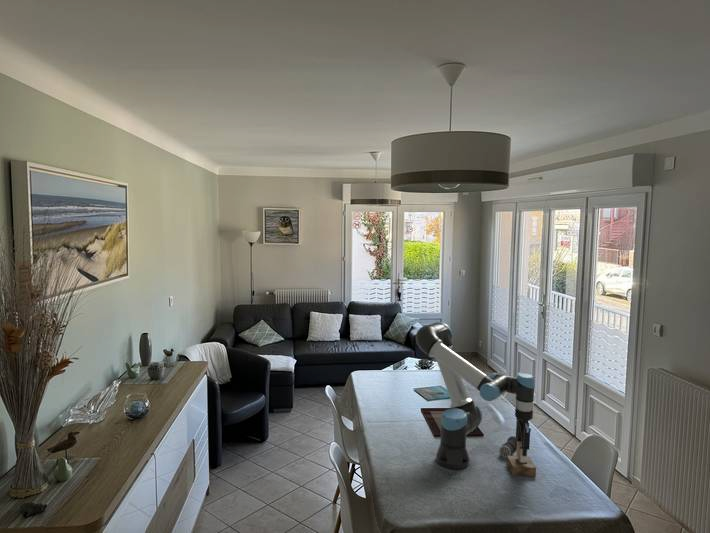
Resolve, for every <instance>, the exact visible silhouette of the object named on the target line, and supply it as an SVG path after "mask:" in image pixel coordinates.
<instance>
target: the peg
mask: <svg viewBox="0 0 710 533" xmlns="http://www.w3.org/2000/svg"><path fill="white" fill-rule="evenodd" d="M520 447H522V442H519V443H518V464H524V462H520V453H521V449H520Z"/></svg>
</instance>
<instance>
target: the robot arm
mask: <svg viewBox="0 0 710 533" xmlns="http://www.w3.org/2000/svg"><path fill="white" fill-rule="evenodd" d="M452 339H453V330H452V329H451V327H450V326H449V325H448V324H447V323H444V322H442V321H439V322H436V321H435V322H432V323H430V324H427V325H423V326H421V327H420V328H418V329H417V332H416V334H415V342H416V344H417V346H418V348H419V349H420V351H422V352H423V353H424V354H425V355H427V356H428V357H430V358H435V360H436V363H437V366H438V368H439V370H440V374H441V376H442V379H443V382H444V385H445V388H446V391H447V393H448V395H449V399H450V401H451V403H450V405H449V407H450V408H448V409H446V410H444V411H443V412H442V413H441V418H440V440H439V441H440V444H439V447H438V449H437V451H436V454H435V461H436V463H437V464H438V465H439V466H441V467H442V468H444V469H445V468H446V469H450V470H463V469H465V468H468V466H469V464H470V457H469V453H468V450H467V435H468V434H470V433H471V432H473V431H474V430H475V429H477V428H479V426H480V424H482V421H483V411H482V409H481V408H480V407H479V405H477V404H476V403H475V402H474V399H473V398H472V397H469V394H468V393H467V392H468V391H467V390H466V387H465V384H464V381H465V382H467V383H468V384H470V385H471V386H472V387H473V388H475V389H476V390H477V391H479V395H480V397H481V398H482V399H483V400H484V401H486V402H492V401H495V400H496V399H498V398H499V397H500V396H502V395H503V394H505V393H509V394H513V395H515V403H514V407H515V409H514V417H515V419H516V426H515V437H516V438H517V441H518V442H517V447H516V452H515V453H516V455H515V456H518V443H519V442H522V447H520V449H521V453H520V462H527V457H528V450H530V444H531V443H530V441H531V430H532V429H531V428H530V422H529V421H531V420H533V418H534V411H533V410H534V405H535V401H534V400H535V398H534V396H535V388H536V387H535V386H536V385H535V378H534V376H533V375H532V374H530V373H523V372H522V373H520V372H519V373H518V374H516V376H512V375H508V374H503V373H501V372H500V373H499V372H493V373H491V375H489V376H488V375H487V374H485V373H484V372H482V371H481V370H480V369H478V368H477V367H475V366H474V365H473V364H471V363H470V362H469V361H468V360H466V359H464V357H462V356H461V355H459V353H456V352H455V351H454V350H452V348H453V342H452ZM463 380H464V381H463Z"/></svg>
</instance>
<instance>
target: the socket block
mask: <svg viewBox="0 0 710 533" xmlns="http://www.w3.org/2000/svg"><path fill="white" fill-rule="evenodd" d="M506 456H507V455H506ZM506 465H507V467H508V469H509V471H510V473H511V475H512V476H518V477H521V476H523V477H536V476H537V467H536V465H535V463H534V462H533V461H532V459H531V457H530V456H527V462H524V464H518V456H517V455H510V456H507V458H506Z"/></svg>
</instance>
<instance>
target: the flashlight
mask: <svg viewBox="0 0 710 533" xmlns="http://www.w3.org/2000/svg"><path fill="white" fill-rule="evenodd" d="M517 442H518V441H517V438H516V435H515V436H514V435H513V436H512V435H511V436H509V437H508V439H507V441H506V442H505V443H503V444H502V445H501V446H500V447H499V449H498V451H499V454H500V456H501V457H503V458H505V459H507V456H512V454H513V451H514V449H516V448H517Z"/></svg>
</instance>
